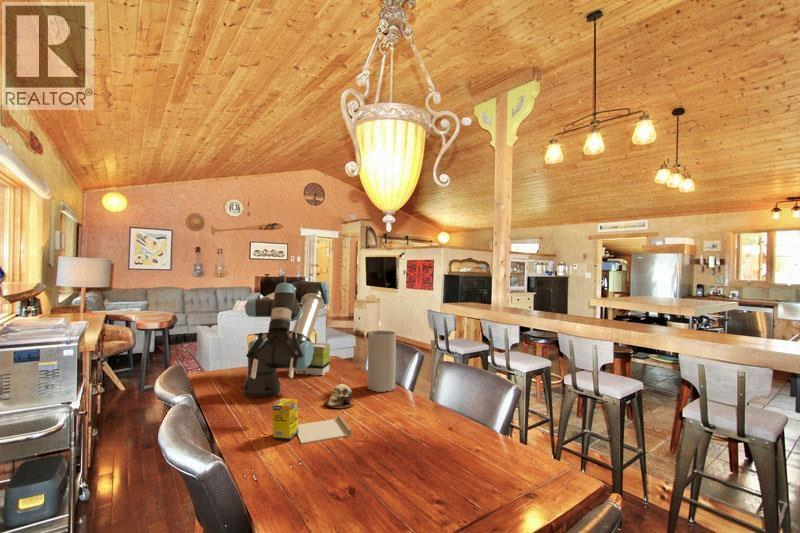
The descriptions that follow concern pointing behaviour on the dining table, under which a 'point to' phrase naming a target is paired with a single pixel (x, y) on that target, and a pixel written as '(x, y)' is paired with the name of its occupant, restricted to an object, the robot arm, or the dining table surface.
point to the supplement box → (285, 419)
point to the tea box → (318, 360)
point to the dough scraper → (323, 430)
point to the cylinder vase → (381, 360)
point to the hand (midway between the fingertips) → (271, 377)
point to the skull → (340, 397)
